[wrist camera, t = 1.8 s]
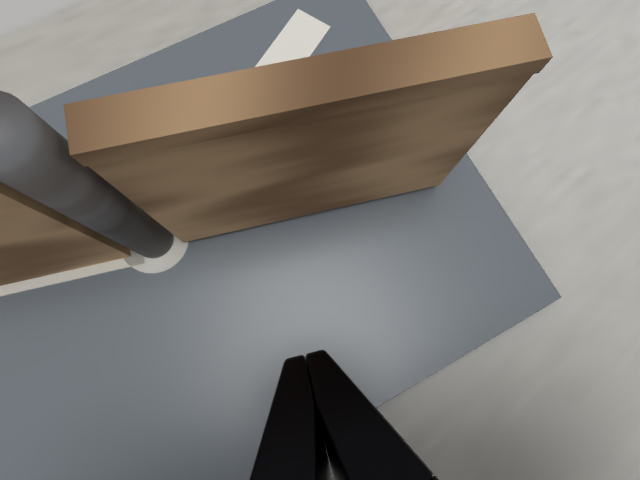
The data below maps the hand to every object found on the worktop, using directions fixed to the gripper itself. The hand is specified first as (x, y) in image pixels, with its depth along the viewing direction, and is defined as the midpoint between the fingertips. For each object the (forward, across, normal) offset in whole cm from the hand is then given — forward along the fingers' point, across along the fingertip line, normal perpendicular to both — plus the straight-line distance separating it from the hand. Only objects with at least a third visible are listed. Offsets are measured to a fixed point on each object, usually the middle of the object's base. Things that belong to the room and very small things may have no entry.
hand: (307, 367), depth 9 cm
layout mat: (+10, +3, +2) cm, 11 cm away
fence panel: (+10, -2, +1) cm, 10 cm away
